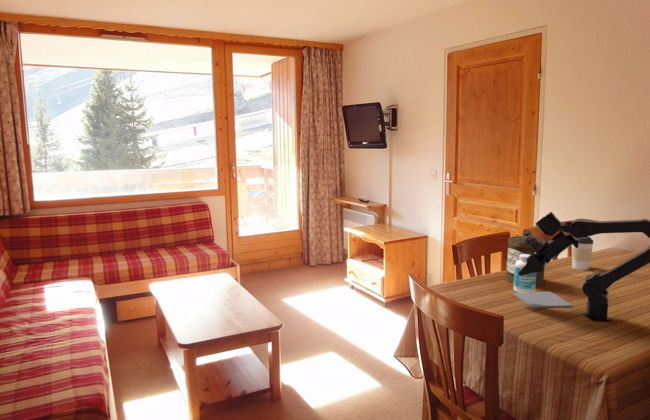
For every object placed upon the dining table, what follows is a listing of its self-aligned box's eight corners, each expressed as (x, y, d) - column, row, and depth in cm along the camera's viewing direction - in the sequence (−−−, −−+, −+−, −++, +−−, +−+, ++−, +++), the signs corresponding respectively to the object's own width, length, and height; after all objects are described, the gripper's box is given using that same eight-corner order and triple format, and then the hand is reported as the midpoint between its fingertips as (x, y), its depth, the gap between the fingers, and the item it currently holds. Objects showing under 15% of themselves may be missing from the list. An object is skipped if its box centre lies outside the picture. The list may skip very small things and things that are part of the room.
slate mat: (571, 306, 172) (572, 305, 172) (531, 307, 171) (531, 306, 171) (550, 293, 187) (550, 291, 187) (513, 294, 186) (513, 292, 186)
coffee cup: (565, 266, 224) (567, 235, 221) (578, 264, 227) (580, 233, 225) (582, 271, 216) (585, 239, 213) (595, 268, 219) (598, 237, 217)
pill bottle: (518, 294, 170) (520, 258, 168) (510, 288, 177) (511, 253, 175) (539, 294, 170) (541, 257, 168) (530, 288, 177) (531, 252, 175)
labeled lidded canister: (498, 277, 207) (501, 228, 204) (525, 274, 212) (528, 226, 209) (523, 287, 194) (526, 235, 190) (551, 283, 199) (555, 232, 195)
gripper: (543, 224, 176) (510, 249, 183) (534, 232, 160) (499, 260, 168) (565, 246, 172) (531, 272, 180) (559, 258, 157) (522, 285, 165)
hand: (521, 271), depth 173 cm, fingers closed on pill bottle, 7 cm apart
